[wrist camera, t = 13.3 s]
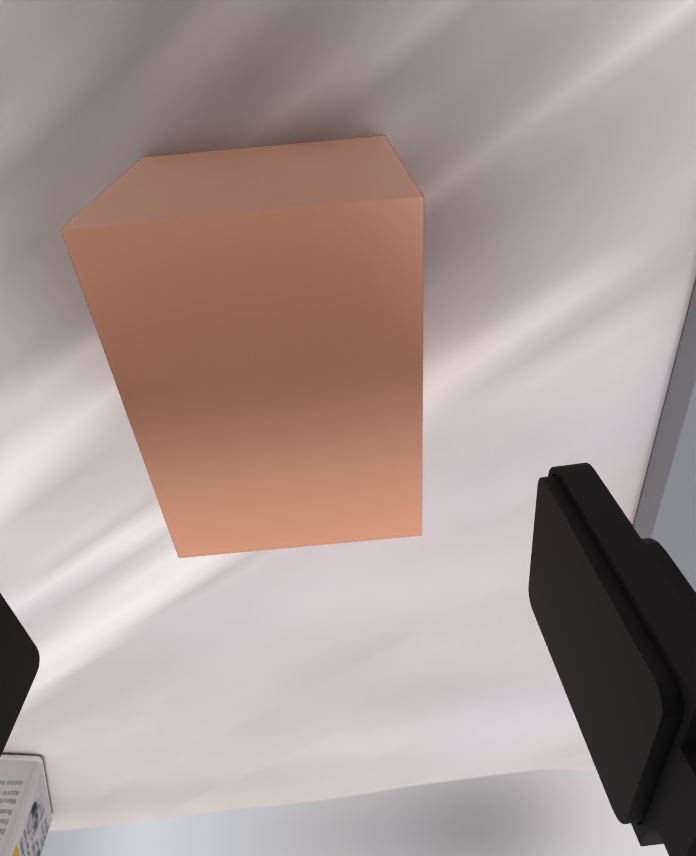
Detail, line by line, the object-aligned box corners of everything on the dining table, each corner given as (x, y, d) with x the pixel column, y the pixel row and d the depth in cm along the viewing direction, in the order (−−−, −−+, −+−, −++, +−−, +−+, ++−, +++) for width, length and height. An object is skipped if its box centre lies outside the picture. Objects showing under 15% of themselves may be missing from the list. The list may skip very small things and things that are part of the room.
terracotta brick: (144, 156, 14) (60, 228, 9) (384, 134, 14) (423, 196, 10) (211, 418, 19) (178, 557, 14) (392, 402, 19) (421, 535, 14)
